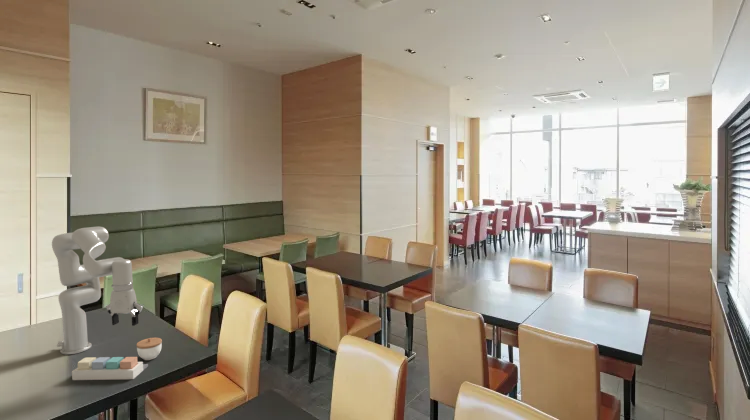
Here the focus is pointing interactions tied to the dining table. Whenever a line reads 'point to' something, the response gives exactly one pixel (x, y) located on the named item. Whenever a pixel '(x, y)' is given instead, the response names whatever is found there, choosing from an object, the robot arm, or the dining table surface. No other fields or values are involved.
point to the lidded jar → (149, 348)
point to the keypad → (108, 373)
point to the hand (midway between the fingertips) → (125, 324)
